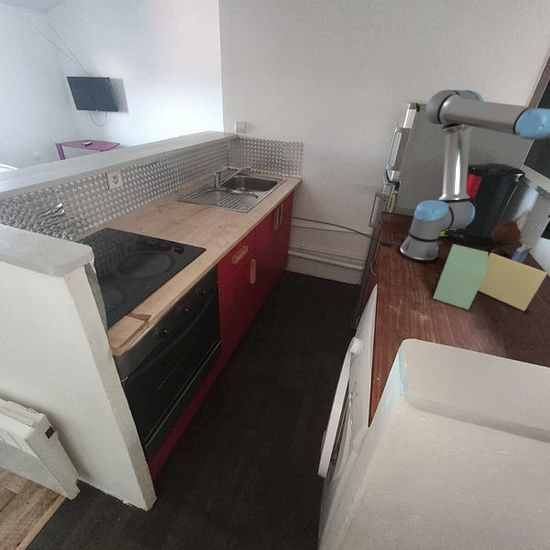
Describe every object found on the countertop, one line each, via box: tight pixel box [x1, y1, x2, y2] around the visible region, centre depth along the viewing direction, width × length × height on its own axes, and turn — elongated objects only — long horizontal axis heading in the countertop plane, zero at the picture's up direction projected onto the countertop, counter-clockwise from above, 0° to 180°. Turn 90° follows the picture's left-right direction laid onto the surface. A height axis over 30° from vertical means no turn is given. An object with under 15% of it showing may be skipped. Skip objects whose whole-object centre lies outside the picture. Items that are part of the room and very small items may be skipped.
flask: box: [510, 242, 532, 264], centre depth 121 cm, size 9×3×11 cm, turn 121°
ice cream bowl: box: [489, 220, 522, 256], centre depth 131 cm, size 11×11×15 cm
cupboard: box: [432, 243, 489, 311], centre depth 102 cm, size 11×16×15 cm
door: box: [477, 252, 548, 312], centre depth 101 cm, size 6×16×15 cm, turn 36°
